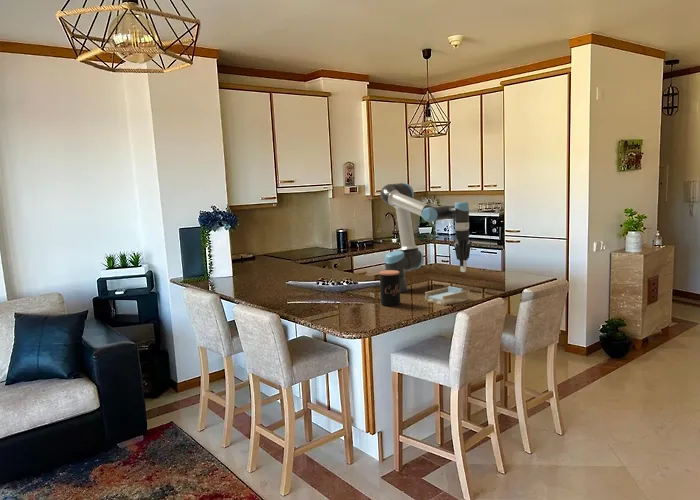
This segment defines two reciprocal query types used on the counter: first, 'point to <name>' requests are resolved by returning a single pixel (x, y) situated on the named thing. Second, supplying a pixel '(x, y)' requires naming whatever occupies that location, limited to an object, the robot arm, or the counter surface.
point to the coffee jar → (390, 287)
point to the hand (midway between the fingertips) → (463, 271)
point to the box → (446, 297)
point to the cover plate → (445, 293)
